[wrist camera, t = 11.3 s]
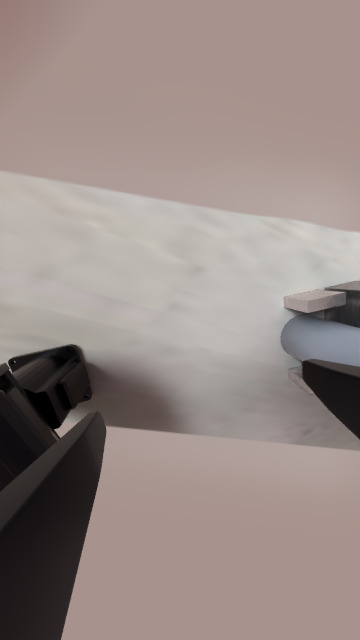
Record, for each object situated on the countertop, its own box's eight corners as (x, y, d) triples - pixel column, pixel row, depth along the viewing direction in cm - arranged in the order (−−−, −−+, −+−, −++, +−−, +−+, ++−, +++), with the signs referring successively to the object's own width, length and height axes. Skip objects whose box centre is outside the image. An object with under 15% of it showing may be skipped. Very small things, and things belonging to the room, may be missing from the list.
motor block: (288, 377, 24) (351, 425, 16) (283, 296, 22) (354, 308, 14) (353, 361, 25) (443, 400, 17) (356, 280, 22) (462, 283, 15)
